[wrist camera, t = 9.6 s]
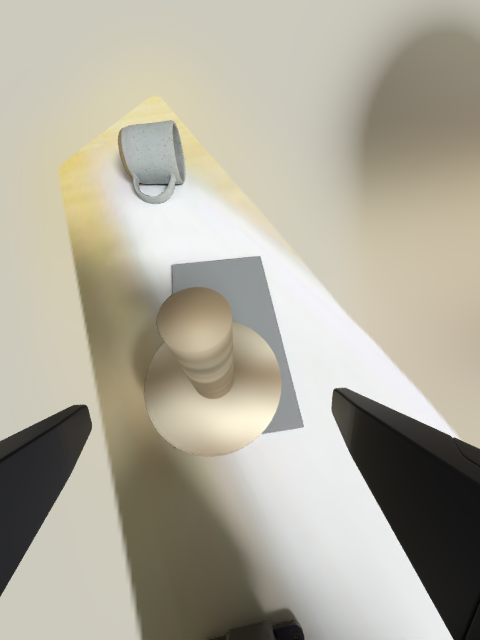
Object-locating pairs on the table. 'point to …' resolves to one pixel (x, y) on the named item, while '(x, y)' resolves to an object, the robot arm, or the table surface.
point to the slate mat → (247, 317)
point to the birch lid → (209, 376)
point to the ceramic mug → (153, 156)
